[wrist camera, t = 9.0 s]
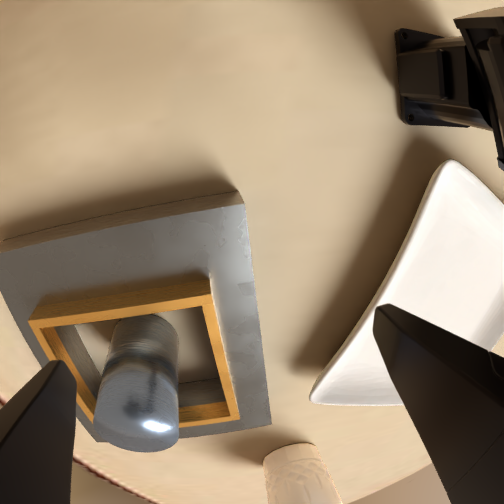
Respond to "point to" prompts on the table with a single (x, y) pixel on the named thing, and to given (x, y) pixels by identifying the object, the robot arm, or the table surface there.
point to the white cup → (298, 477)
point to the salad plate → (430, 285)
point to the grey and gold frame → (147, 299)
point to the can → (140, 386)
